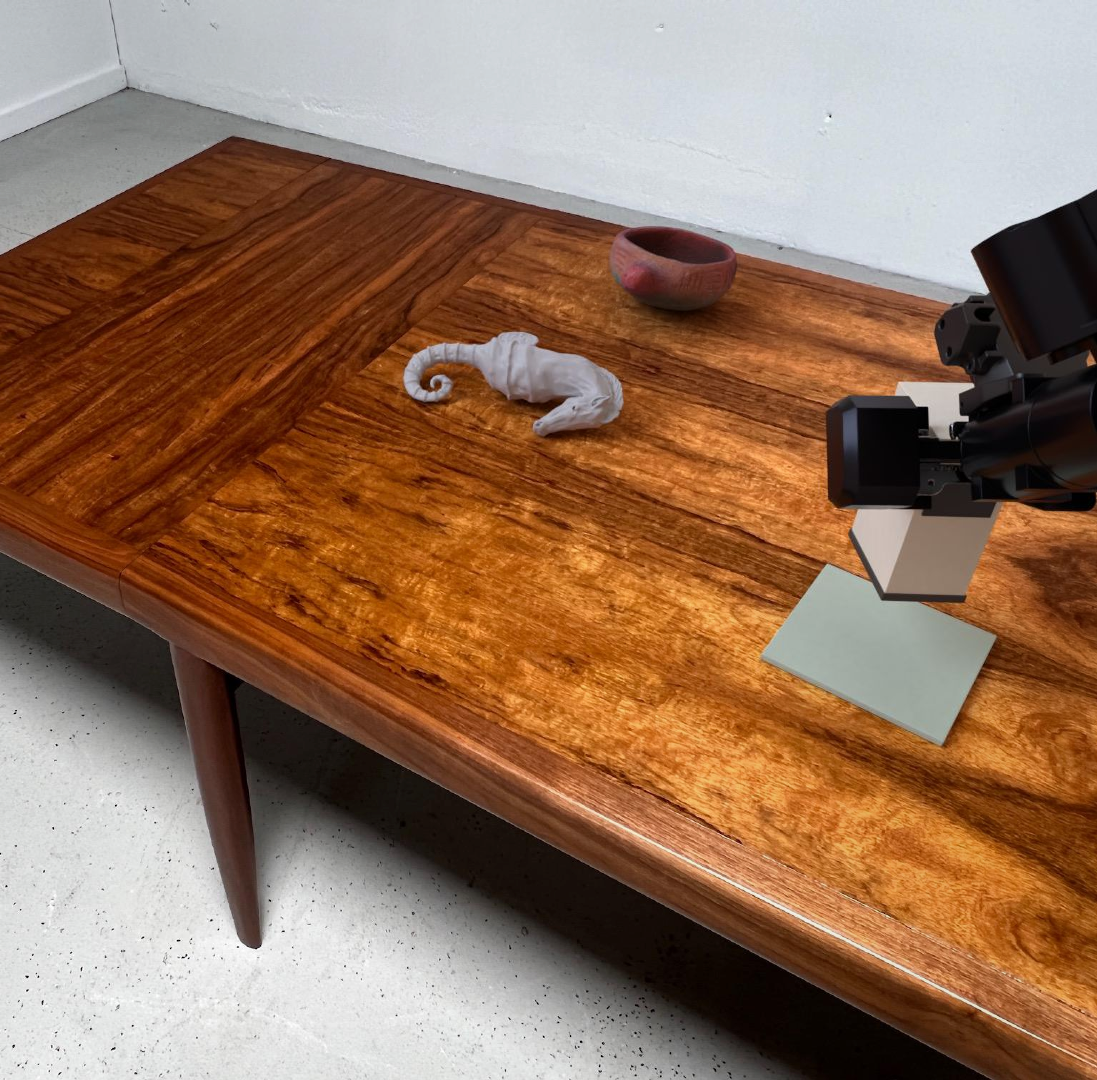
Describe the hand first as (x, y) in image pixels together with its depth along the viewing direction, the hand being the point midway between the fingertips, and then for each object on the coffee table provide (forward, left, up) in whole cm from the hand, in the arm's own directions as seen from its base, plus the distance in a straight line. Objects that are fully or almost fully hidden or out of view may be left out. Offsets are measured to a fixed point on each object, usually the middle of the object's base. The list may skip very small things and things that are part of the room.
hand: (925, 476), depth 68 cm
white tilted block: (-1, +1, -6) cm, 7 cm away
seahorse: (+35, -7, -12) cm, 38 cm away
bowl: (+32, -32, -12) cm, 47 cm away
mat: (-2, +3, -12) cm, 13 cm away
